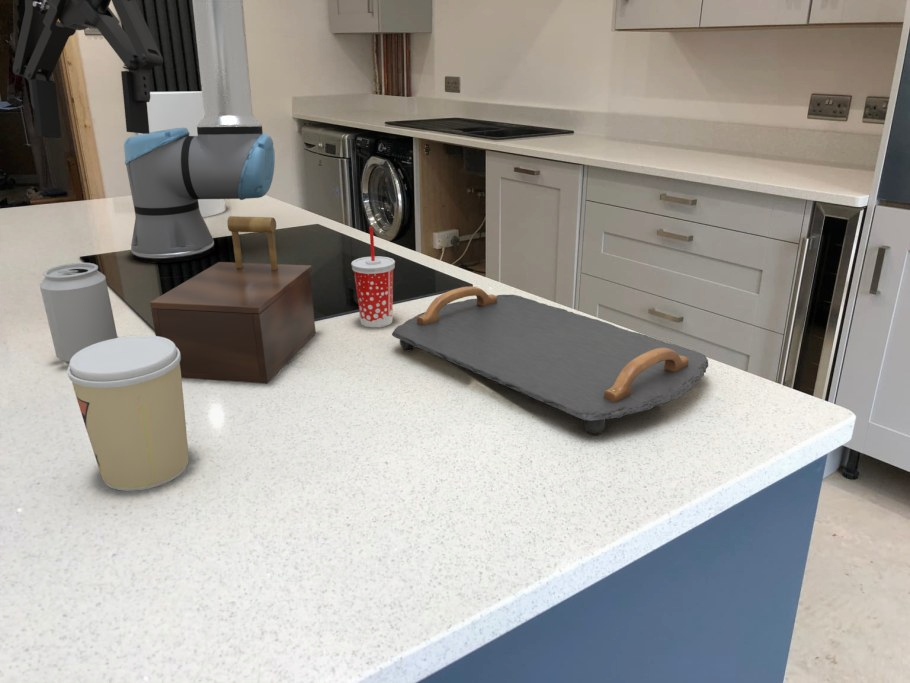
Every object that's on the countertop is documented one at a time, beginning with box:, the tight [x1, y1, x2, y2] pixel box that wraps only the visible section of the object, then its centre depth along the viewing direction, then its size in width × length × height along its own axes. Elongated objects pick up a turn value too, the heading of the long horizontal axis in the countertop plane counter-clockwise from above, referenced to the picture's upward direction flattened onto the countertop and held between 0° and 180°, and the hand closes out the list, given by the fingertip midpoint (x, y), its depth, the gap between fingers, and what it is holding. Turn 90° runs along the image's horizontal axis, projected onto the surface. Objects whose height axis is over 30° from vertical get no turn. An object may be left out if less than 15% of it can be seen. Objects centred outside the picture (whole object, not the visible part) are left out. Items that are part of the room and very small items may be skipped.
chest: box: [150, 272, 317, 385], centre depth 94 cm, size 17×14×9 cm
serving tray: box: [391, 286, 709, 436], centre depth 90 cm, size 39×23×6 cm, turn 42°
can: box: [39, 262, 119, 365], centre depth 94 cm, size 8×8×12 cm
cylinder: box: [137, 90, 227, 218], centre depth 175 cm, size 17×17×28 cm
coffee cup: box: [66, 334, 189, 492], centre depth 68 cm, size 9×9×12 cm
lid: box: [149, 215, 313, 314], centre depth 92 cm, size 17×14×8 cm
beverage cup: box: [350, 226, 396, 328], centre depth 104 cm, size 6×6×14 cm
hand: (92, 135), depth 86 cm, fingers open, 13 cm apart
